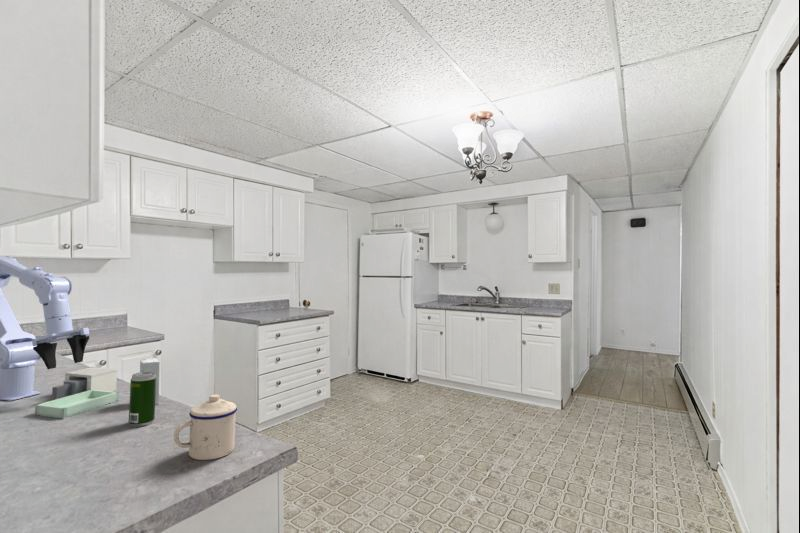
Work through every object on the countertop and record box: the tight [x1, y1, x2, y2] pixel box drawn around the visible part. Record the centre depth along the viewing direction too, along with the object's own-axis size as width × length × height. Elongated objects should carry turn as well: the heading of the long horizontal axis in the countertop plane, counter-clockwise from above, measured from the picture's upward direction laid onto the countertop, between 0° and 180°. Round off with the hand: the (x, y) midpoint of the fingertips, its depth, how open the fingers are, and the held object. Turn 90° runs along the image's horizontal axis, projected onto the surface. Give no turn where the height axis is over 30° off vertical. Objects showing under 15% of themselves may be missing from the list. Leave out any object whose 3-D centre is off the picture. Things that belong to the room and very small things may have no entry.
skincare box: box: [139, 358, 161, 406], centre depth 112 cm, size 6×4×12 cm
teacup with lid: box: [173, 394, 238, 461], centre depth 82 cm, size 12×9×12 cm
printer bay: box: [64, 366, 118, 392], centre depth 120 cm, size 10×8×6 cm
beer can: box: [128, 372, 156, 428], centre depth 97 cm, size 5×5×12 cm
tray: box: [34, 389, 119, 420], centre depth 107 cm, size 9×15×2 cm, turn 168°
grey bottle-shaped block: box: [51, 377, 87, 401], centre depth 115 cm, size 4×11×5 cm, turn 167°
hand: (65, 365), depth 111 cm, fingers open, 7 cm apart
